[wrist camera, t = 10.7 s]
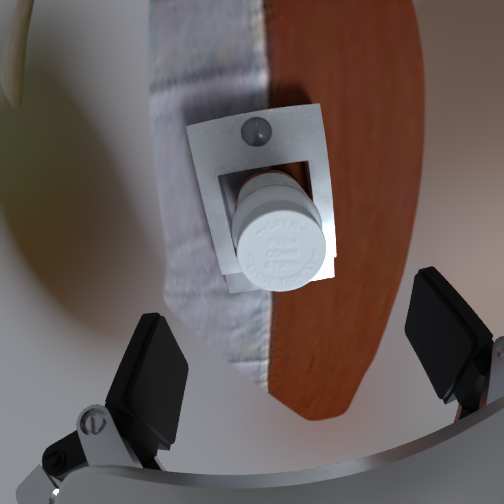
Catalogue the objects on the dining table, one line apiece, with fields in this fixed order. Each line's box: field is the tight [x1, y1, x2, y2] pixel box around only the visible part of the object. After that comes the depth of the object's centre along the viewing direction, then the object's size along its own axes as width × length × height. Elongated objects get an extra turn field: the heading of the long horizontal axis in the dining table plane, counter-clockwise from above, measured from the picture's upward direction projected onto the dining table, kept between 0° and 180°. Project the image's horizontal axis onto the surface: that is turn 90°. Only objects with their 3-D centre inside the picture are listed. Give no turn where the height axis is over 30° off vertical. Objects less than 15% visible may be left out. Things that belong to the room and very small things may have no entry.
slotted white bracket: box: [186, 104, 336, 294], centre depth 24 cm, size 17×11×3 cm, turn 10°
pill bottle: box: [232, 170, 327, 291], centre depth 20 cm, size 6×6×11 cm
